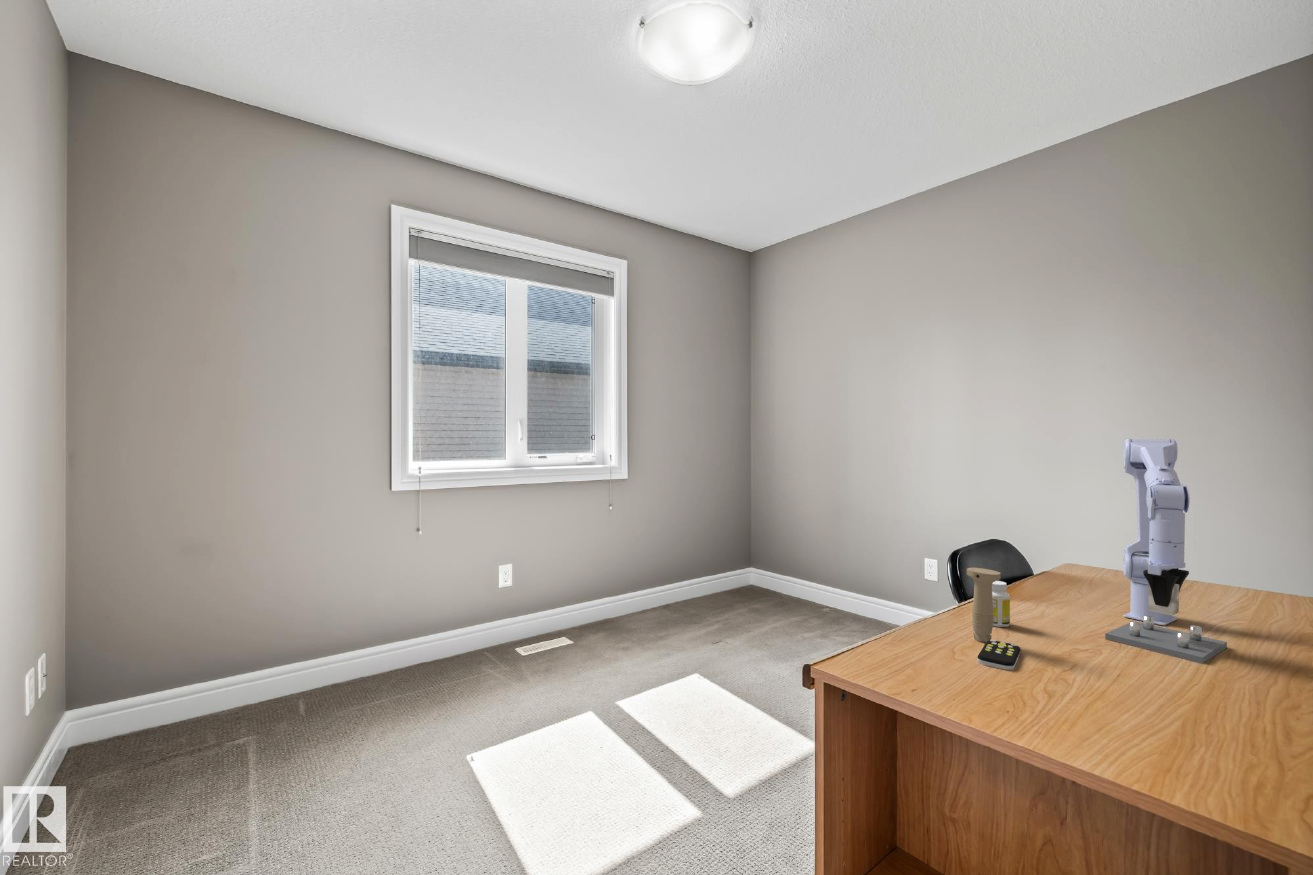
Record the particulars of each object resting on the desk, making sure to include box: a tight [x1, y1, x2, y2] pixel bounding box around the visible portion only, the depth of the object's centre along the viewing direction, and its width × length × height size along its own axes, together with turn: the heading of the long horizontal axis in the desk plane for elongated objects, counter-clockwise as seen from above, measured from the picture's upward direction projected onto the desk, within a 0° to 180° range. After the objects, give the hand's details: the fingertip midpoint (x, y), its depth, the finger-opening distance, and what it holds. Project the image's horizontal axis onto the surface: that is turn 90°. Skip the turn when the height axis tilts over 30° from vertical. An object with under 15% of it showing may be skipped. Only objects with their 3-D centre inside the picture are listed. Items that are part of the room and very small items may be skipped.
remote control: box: [976, 639, 1022, 671], centre depth 116 cm, size 6×13×2 cm, turn 142°
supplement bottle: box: [992, 580, 1011, 628], centre depth 137 cm, size 5×5×10 cm
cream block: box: [1148, 584, 1180, 616], centre depth 125 cm, size 4×4×6 cm
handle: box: [966, 567, 1001, 643], centre depth 126 cm, size 5×6×15 cm
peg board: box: [1104, 615, 1228, 664], centre depth 125 cm, size 16×16×4 cm
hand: (1165, 604), depth 125 cm, fingers closed on cream block, 4 cm apart
